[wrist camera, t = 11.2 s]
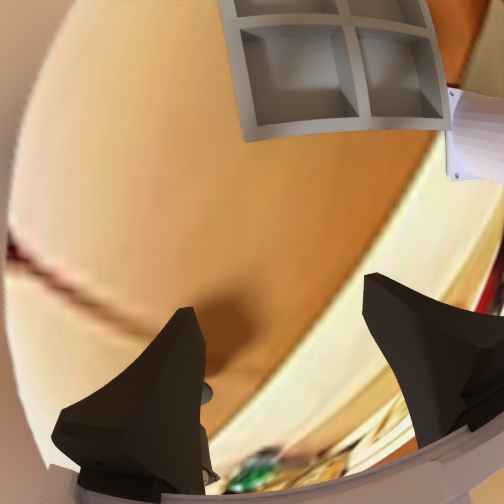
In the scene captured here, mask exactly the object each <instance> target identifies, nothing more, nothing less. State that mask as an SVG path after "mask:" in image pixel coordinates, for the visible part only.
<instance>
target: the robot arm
mask: <svg viewBox="0 0 504 504" xmlns="http://www.w3.org/2000/svg"><path fill="white" fill-rule="evenodd" d="M447 89H448V96H449V104H450V113H451V124H452V131H447V130H445V131H446V150H447V178H448V180H449V181H452V182H454V181H467V180H482V179H486V180H489V181H492V182H494V183H497V184H499V185H502V186H504V98H502V97H491V96H487V95H483V94H479V93H474V92H470V91H465V90H461V89H455V88H450V87H447ZM450 92H451V95H450ZM455 174H456V177H455ZM362 315H363V317H364V319H365V322H366V324H367V327H368V329H369V331H370V333H371V335H372V336H373V338H374V340H375V342H376V343H377V345H378V347H379V348H380V350H381V352H382V353H383V355H384V357H385V358H386V360H387V362H388V363H389V365H390V367H391V368H392V370H393V372H394V374H395V376H396V379H397V381H398V383H399V386H400V388H401V391H402V393H403V396H404V399H405V402H406V404H407V407H408V410H409V413H410V417H411V420H412V424H413V427H414V431H415V435H416V439H417V444H418V449H419V450H417V451H415V452H412V453H410V454H408V455H405V456H403V457H401V458H398V459H396V460H393V461H390V462H388V463H385V464H382V465H380V466H377V467H374V468H371V469H368V470H365V471H362V472H359V473H355V474H352V475H348V476H345V477H341V478H337V479H334V480H329V481H325V482H321V483H316V484H312V485H307V486H302V487H296V488H290V489H284V490H277V491H269V492H260V493H249V494H234V495H206V494H205V486H204V479H203V470H202V458H201V441H200V407H201V398H202V390H203V382H204V374H205V365H206V348H205V341H204V338H203V335H202V332H201V329H200V326H199V324H198V321H197V318H196V315H195V312H194V309H193V307H186V308H179V309H178V310H177V311H176V312H175V314H174V315H173V316H172V318H171V319H170V320H169V321H168V323H167V324H166V325H165V327H164V328H163V329H162V330H161V332H160V333H159V334H158V335H157V337H156V338H155V339H154V340H153V341H152V342H151V344H150V345H149V346H148V347H147V348H146V349H145V350H144V351H143V353H142V354H141V355H140V356H139V357H138V358H137V359H136V360H135V361H134V362H133V363H132V364H131V365H130V366H129V367H127V368H126V369H125V370H124V371H123V372H122V373H121V374H119V375H118V376H117V377H115V378H114V379H113V380H112V381H110V382H109V383H108V384H106V385H105V386H104V387H102V388H101V389H99V390H98V391H96V392H94V393H93V394H91V395H90V396H88V397H86V398H84V399H83V400H81V401H79V402H77V403H75V404H73V405H71V406H69V407H67V408H64V409H62V410H61V413H60V415H59V417H58V420H57V422H56V425H55V427H54V430H53V433H52V435H51V439H52V441H53V443H54V444H55V446H56V447H57V448H58V449H59V450H60V451H61V452H62V453H64V454H65V455H66V456H67V457H68V458H70V459H71V460H72V461H73V462H75V463H76V464H77V465H79V466H80V467H81V469H80V473H77V472H75V471H73V470H70V469H67V468H64V467H60V466H57V465H54V464H50V466H49V469H48V472H47V476H46V479H45V482H44V486H43V490H42V493H41V497H40V501H39V504H473V503H472V500H471V498H470V495H469V493H468V492H469V491H471V490H472V489H474V488H475V487H477V486H478V485H480V484H481V483H482V482H484V481H485V480H487V479H488V478H489V477H491V476H492V475H493V474H495V473H496V472H497V471H499V470H500V469H501V468H502V467H504V316H495V315H488V314H482V313H476V312H472V311H468V310H464V309H460V308H457V307H454V306H451V305H448V304H445V303H442V302H439V301H437V300H434V299H432V298H430V297H427V296H425V295H423V294H421V293H419V292H416V291H414V290H412V289H410V288H408V287H406V286H404V285H402V284H400V283H398V282H396V281H394V280H393V279H391V278H388V277H386V276H384V275H382V274H380V273H377V272H376V273H372V274H367V275H364V292H363V309H362Z"/></svg>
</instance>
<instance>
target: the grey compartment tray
mask: <svg viewBox="0 0 504 504" xmlns="http://www.w3.org/2000/svg"><path fill="white" fill-rule="evenodd" d="M218 5H219V10H220V16H221V21H222V26H223V32H224V37H225V42H226V48H227V53H228V58H229V64H230V69H231V75H232V80H233V86H234V91H235V97H236V103H237V108H238V114H239V119H240V125H241V131H242V136H243V141H244V142H245V143H247V142H253V141H260V140H266V139H273V138H281V137H289V136H297V135H306V134H316V133H328V132H341V131H357V130H385V129H420V130H447V131H452V124H451V113H450V104H449V96H448V89H447V83H446V77H445V71H444V66H443V61H442V56H441V52H440V48H439V43H438V39H437V36H436V32H435V28H434V25H433V21H432V18H431V15H430V12H429V9H428V6H427V3H426V0H218Z"/></svg>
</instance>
